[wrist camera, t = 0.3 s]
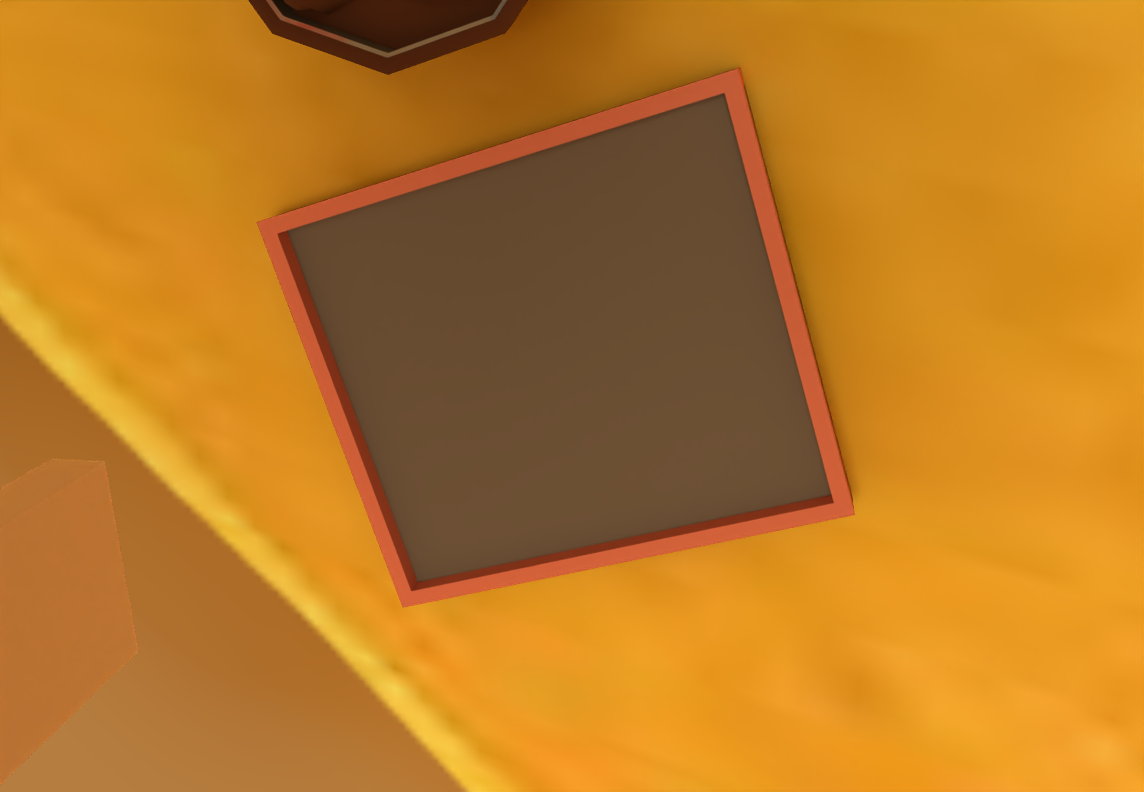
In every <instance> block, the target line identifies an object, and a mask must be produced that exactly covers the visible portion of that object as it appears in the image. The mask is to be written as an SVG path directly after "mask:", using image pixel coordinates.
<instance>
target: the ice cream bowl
mask: <svg viewBox="0 0 1144 792" xmlns="http://www.w3.org/2000/svg"><path fill="white" fill-rule="evenodd" d="M527 1H528V0H249V2H250V3H251V5H252V6H253V7H254V9H255V10H256V12H257V13H258V14H259V16H260V17H261V18H262V20H263V21H264V23H265V24H266V25H267V27H268V28H269V30H270V31H271V32H272V34H275V35H278V36H281V37H283V38H286V39H289V40H292V41H295V42H298V43H300V44H303V45H306V46H309V47H312V48H314V49H317V50H320V51H323V52H326V53H328V54H331V55H334V56H337V57H340V58H343V59H345V60H348V61H351V62H354V63H357V64H359V65H362V66H365V67H368V68H371V69H373V70H376V71H379V72H382V73H385V74H388V75H389V74H392V73H395V72H397V71H400V70H403V69H406V68H409V67H411V66H414V65H417V64H420V63H423V62H426V61H428V60H431V59H434V58H437V57H440V56H442V55H445V54H448V53H451V52H454V51H457V50H459V49H462V48H465V47H468V46H471V45H473V44H476V43H479V42H482V41H485V40H488V39H490V38H493V37H496V36H499V35H502V34H504V33H505V32H506V31H507V30H508V29H509V28H510V27H511V25H512V24H513V22H514V21H515V19H516V18H517V16H518V15H519V13H520V12H521V10H522V8H523V7H524V5H525V4H526V2H527Z"/></svg>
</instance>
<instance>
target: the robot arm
mask: <svg viewBox="0 0 1144 792" xmlns="http://www.w3.org/2000/svg"><path fill="white" fill-rule="evenodd" d="M137 652H138V645H137V639H136V634H135V628H134V623H133V617H132V611H131V606H130V600H129V595H128V589H127V583H126V578H125V572H124V566H123V560H122V555H121V549H120V544H119V538H118V532H117V527H116V521H115V516H114V510H113V504H112V498H111V493H110V488H109V482H108V476H107V471H106V465H105V461H94V460H70V459H49V460H48V461H46V462H44V463H43V464H41V465H39V466H37V467H36V468H34V469H32V470H31V471H29V472H27V473H25V474H24V475H22V476H20V477H19V478H17V479H15V480H14V481H12V482H10V483H8V484H7V485H5V486H3V487H2V488H0V785H1V784H2V783H3V782H4V781H5V780H6V779H7V778H8V777H9V776H10V775H11V774H12V773H13V772H14V771H15V770H16V769H17V768H18V767H19V766H20V765H21V764H22V763H24V762H25V760H27V759H28V758H29V757H30V755H32V754H33V753H34V752H35V751H36V750H37V749H38V748H39V747H40V746H41V745H42V744H43V743H44V742H45V741H46V740H47V739H48V738H49V737H50V736H51V735H52V734H54V733H55V731H57V730H58V729H59V728H60V727H61V726H62V725H63V724H64V723H65V722H66V721H67V720H68V719H69V718H70V717H71V716H72V715H73V714H74V713H75V712H76V711H77V710H78V709H79V708H80V707H81V706H83V704H85V703H86V702H87V701H88V700H89V699H90V698H91V697H92V696H93V695H94V694H95V693H96V692H97V691H98V690H99V689H100V688H101V687H102V686H103V685H104V684H105V683H106V682H107V681H108V680H109V679H110V678H111V677H113V676H114V675H115V674H116V673H117V672H118V671H119V670H120V669H121V668H122V667H123V666H124V665H125V664H126V663H127V662H128V661H129V660H130V659H131V658H132V657H133V656H134V655H135V654H136V653H137Z"/></svg>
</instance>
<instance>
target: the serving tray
mask: <svg viewBox="0 0 1144 792" xmlns="http://www.w3.org/2000/svg"><path fill="white" fill-rule="evenodd" d="M257 224H258V227H259V229H260V232H261V235H262V237H263V240H264V243H265V245H266V248H267V251H268V253H269V256H270V258H271V261H272V264H273V266H274V269H275V272H276V274H277V277H278V280H279V282H280V285H281V287H282V290H283V293H284V295H285V298H286V301H287V303H288V306H289V309H290V311H291V314H292V316H293V319H294V322H295V324H296V327H297V330H298V332H299V335H300V338H301V340H302V343H303V346H304V348H305V351H306V353H307V356H308V359H309V361H310V364H311V367H312V369H313V372H314V375H315V377H316V380H317V382H318V385H319V388H320V390H321V393H322V396H323V398H324V401H325V404H326V406H327V409H328V411H329V414H330V417H331V419H332V422H333V425H334V427H335V430H336V433H337V435H338V438H339V440H340V443H341V446H342V448H343V451H344V454H345V456H346V459H347V462H348V464H349V467H350V470H351V472H352V475H353V477H354V480H355V483H356V485H357V488H358V491H359V493H360V496H361V499H362V501H363V504H364V506H365V509H366V512H367V514H368V517H369V520H370V522H371V525H372V528H373V530H374V533H375V535H376V538H377V541H378V543H379V546H380V549H381V551H382V554H383V557H384V559H385V562H386V564H387V567H388V570H389V572H390V575H391V578H392V580H393V583H394V586H395V588H396V591H397V594H398V596H399V599H400V601H401V604H402V607H408V606H412V605H417V604H422V603H427V602H432V601H437V600H442V599H447V598H451V597H456V596H461V595H466V594H471V593H476V592H481V591H486V590H490V589H495V588H500V587H505V586H510V585H515V584H520V583H525V582H529V581H534V580H539V579H544V578H549V577H554V576H559V575H564V574H568V573H573V572H578V571H583V570H588V569H593V568H598V567H603V566H607V565H612V564H617V563H622V562H627V561H632V560H637V559H642V558H646V557H651V556H656V555H661V554H666V553H671V552H676V551H681V550H685V549H690V548H695V547H700V546H705V545H710V544H715V543H720V542H724V541H729V540H734V539H739V538H744V537H749V536H754V535H759V534H763V533H768V532H773V531H778V530H783V529H788V528H793V527H798V526H802V525H807V524H812V523H817V522H822V521H827V520H832V519H837V518H841V517H846V516H851V515H855V513H854V506H853V499H852V494H851V490H850V486H849V482H848V478H847V475H846V471H845V467H844V463H843V459H842V456H841V452H840V448H839V444H838V440H837V436H836V433H835V429H834V425H833V421H832V417H831V413H830V410H829V406H828V402H827V398H826V394H825V390H824V387H823V383H822V379H821V375H820V371H819V368H818V364H817V360H816V356H815V352H814V348H813V345H812V341H811V337H810V333H809V329H808V325H807V322H806V318H805V314H804V310H803V306H802V302H801V299H800V295H799V291H798V287H797V283H796V280H795V276H794V272H793V268H792V264H791V260H790V257H789V253H788V249H787V245H786V241H785V237H784V234H783V230H782V226H781V222H780V218H779V214H778V211H777V207H776V203H775V199H774V195H773V192H772V188H771V184H770V180H769V176H768V172H767V169H766V165H765V161H764V157H763V153H762V149H761V146H760V142H759V138H758V134H757V130H756V126H755V123H754V119H753V115H752V111H751V107H750V103H749V100H748V96H747V92H746V88H745V84H744V81H743V77H742V73H741V69H740V68H737V69H734V70H731V71H728V72H725V73H722V74H719V75H715V76H712V77H709V78H706V79H703V80H700V81H697V82H693V83H690V84H687V85H684V86H681V87H678V88H675V89H672V90H668V91H665V92H662V93H659V94H656V95H653V96H650V97H647V98H643V99H640V100H637V101H634V102H631V103H628V104H625V105H622V106H618V107H615V108H612V109H609V110H606V111H603V112H600V113H597V114H593V115H590V116H587V117H584V118H581V119H578V120H575V121H571V122H568V123H565V124H562V125H559V126H556V127H553V128H550V129H546V130H543V131H540V132H537V133H534V134H531V135H528V136H525V137H521V138H518V139H515V140H512V141H509V142H506V143H503V144H500V145H496V146H493V147H490V148H487V149H484V150H481V151H478V152H474V153H471V154H468V155H465V156H462V157H459V158H456V159H453V160H449V161H446V162H443V163H440V164H437V165H434V166H431V167H428V168H424V169H421V170H418V171H415V172H412V173H409V174H406V175H403V176H399V177H396V178H393V179H390V180H387V181H384V182H381V183H378V184H374V185H371V186H368V187H365V188H362V189H359V190H356V191H352V192H349V193H346V194H343V195H340V196H337V197H334V198H331V199H327V200H324V201H321V202H318V203H315V204H312V205H309V206H306V207H302V208H299V209H296V210H293V211H290V212H287V213H284V214H281V215H277V216H274V217H271V218H268V219H265V220H262V221H259V222H257Z"/></svg>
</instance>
